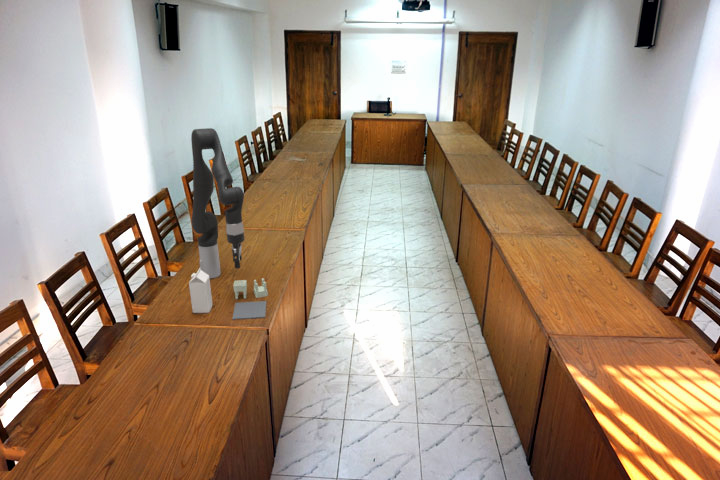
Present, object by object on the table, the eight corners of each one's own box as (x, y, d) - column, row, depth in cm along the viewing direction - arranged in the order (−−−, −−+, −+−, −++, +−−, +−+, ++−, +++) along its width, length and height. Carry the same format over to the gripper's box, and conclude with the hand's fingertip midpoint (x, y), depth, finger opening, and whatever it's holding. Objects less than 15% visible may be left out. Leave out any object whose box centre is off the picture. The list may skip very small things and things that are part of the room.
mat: (232, 319, 219) (232, 318, 219) (235, 303, 232) (235, 302, 231) (265, 317, 221) (265, 316, 220) (266, 302, 233) (266, 300, 233)
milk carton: (212, 305, 231) (208, 267, 223) (209, 313, 224) (204, 274, 217) (197, 305, 230) (191, 267, 223) (192, 313, 224) (187, 274, 217)
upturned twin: (256, 298, 237) (255, 284, 234) (253, 293, 242) (252, 279, 239) (267, 296, 239) (266, 282, 236) (265, 290, 244) (264, 277, 241)
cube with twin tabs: (234, 299, 236) (233, 286, 233) (235, 293, 241) (234, 280, 238) (246, 298, 236) (245, 285, 234) (247, 293, 241) (246, 280, 239)
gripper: (228, 226, 232) (231, 258, 238) (224, 237, 219) (228, 271, 225) (244, 225, 233) (247, 257, 239) (242, 236, 220) (245, 270, 226)
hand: (238, 264), depth 232 cm, fingers open, 8 cm apart
